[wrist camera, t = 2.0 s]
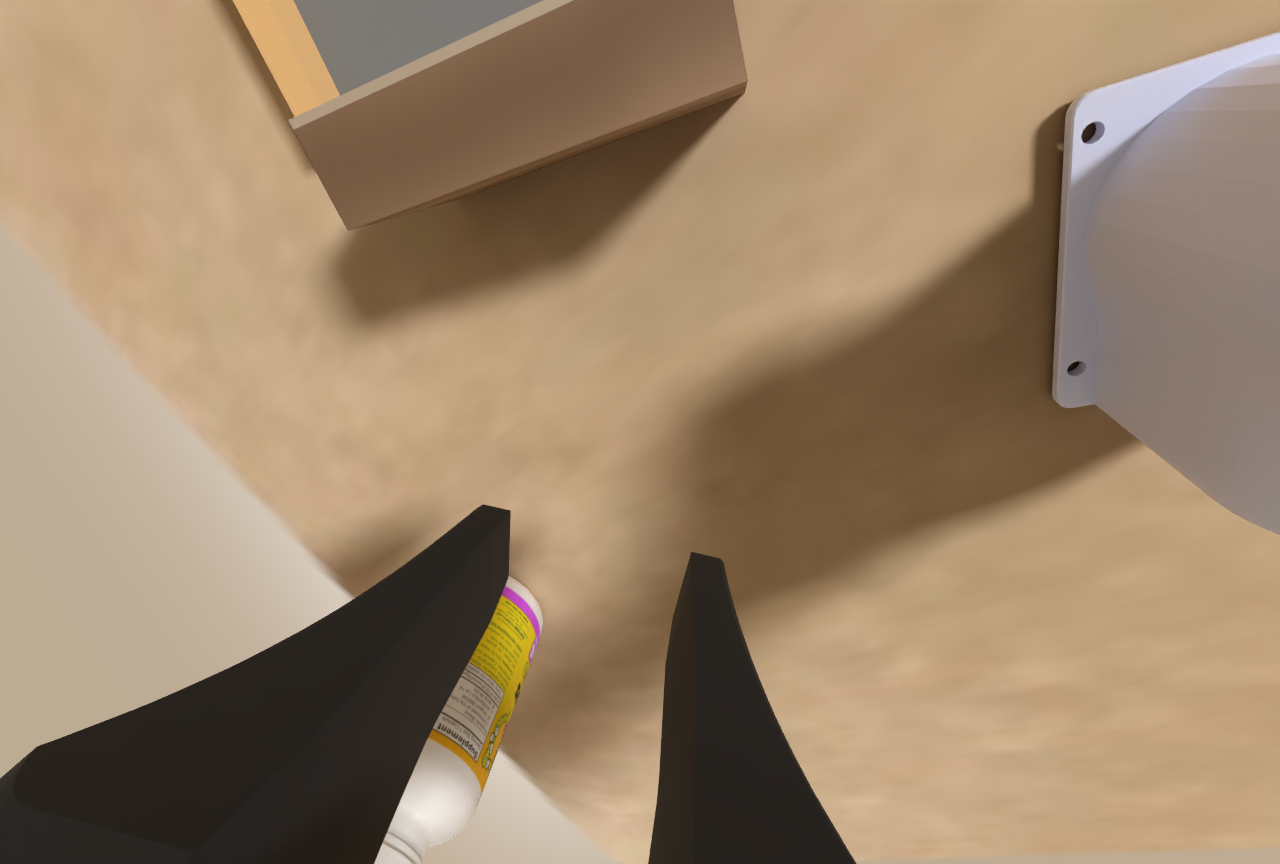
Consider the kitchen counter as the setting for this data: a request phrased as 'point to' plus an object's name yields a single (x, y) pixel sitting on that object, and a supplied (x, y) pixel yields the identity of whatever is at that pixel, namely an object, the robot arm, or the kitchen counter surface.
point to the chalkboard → (357, 39)
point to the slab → (519, 100)
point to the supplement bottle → (466, 733)
